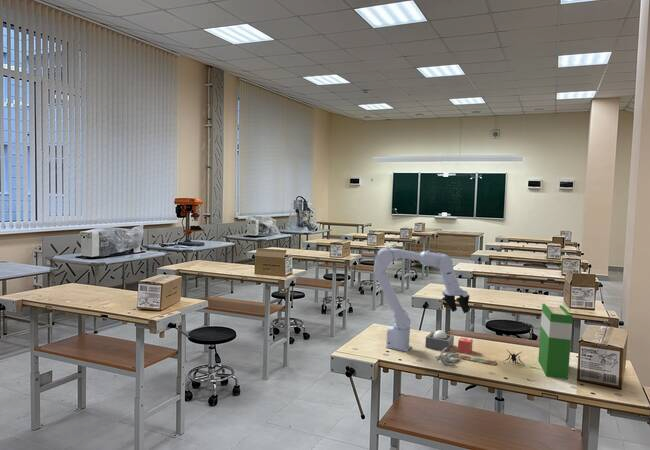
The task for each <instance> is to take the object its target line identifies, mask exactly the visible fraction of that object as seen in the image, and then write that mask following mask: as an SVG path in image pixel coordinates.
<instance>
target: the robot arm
mask: <svg viewBox="0 0 650 450" xmlns="http://www.w3.org/2000/svg"><path fill="white" fill-rule="evenodd" d="M374 259H375V260H374V267H373V274H374V276H375V279H376V280H377V282H378V284H379V286H380V289H381V291H382V293H383V294H384V297H385V299H386V301H387V303H388V305H389V308H390V309H391V311H392V313H393V318H394V324H393V325H389V326H388V327H387V330H386V331H387V332H386V343H385V344H386V345H385V348H386V349H387V348H388V349H392V350H397V351H403V352H407V351H409V350H410V349H411V348H412V346H413V345H410V334H411V327H410V325H411V319H410V317H409V314H408V312H407V311H406V310H405V309H404V308H403V306H402V304H401V303H400V300H399V298H398V296H397V294H396V292H395V290H394V288H393V286H392V284H391V282H390V280H389V278H388V276H387V274H386V271H387V269H388V267H389V265H390V264H391V263H392V262H393V260H394V261H397V260H399V259H406V260H412V261H418V262H419V264H421V265H423V266H429V267H435V268H436V267H439V270H440V274H441V278H442V281H443V284H444V287H445V289H444V290H442V291H441V295H442V296H444V297H442V301H444V302H445V303H446V304H447V305H448V307H449V308H450V310H451V312H453V313H454V312H457V310H458V307H457V304H456V301H457V303H458V304H459V306H460V307H461V310H462V312H463V314H467V313H469V300H470V295H469V293H468V291H467V290H463V288H462V287H460V283H459V281H458V278H457V274H456V271H455V269H454V265H453V264H454V263H453V262H454V261H453V259H452V258H451V257H450V256H449V255H447V254H445V253H441V252H431V251H430V250H428V249H426V251H425V250H423V251H421V252H415V251H410V250H406V249H405V250H404V249H400V248H392V247H389V248H388V247H381V248H380V249H379V250H378V252H377V254H375V258H374ZM456 297H457V298H456Z"/></svg>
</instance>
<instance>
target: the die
mask: <svg viewBox="0 0 650 450" xmlns="http://www.w3.org/2000/svg"><path fill="white" fill-rule="evenodd" d="M473 341H474V340H473V339H471V338H467V337H466V338H465V337H460V338H459V339H458V342H457V343H458V344H457V352H458V353H464V354H468V355H469V354H471V353H472V351H473Z"/></svg>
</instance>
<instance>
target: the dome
mask: <svg viewBox="0 0 650 450" xmlns="http://www.w3.org/2000/svg"><path fill="white" fill-rule="evenodd" d="M434 332H435V333H434V335H432V338H438V339H443V340H447V339H448V337H447V335H446V334H447V333H446V332H445V331H444V330H442V329H441V330H440V329H438V330H436V331H434Z"/></svg>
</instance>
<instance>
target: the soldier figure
mask: <svg viewBox="0 0 650 450" xmlns="http://www.w3.org/2000/svg"><path fill="white" fill-rule="evenodd" d="M447 348H448V347H446V348H445V349H443V350H441V351H440V353H439V356H438V355H437V356H435V359H436V361H437V362H439V361H441V363H443V364H444V365H445V366H456V364H457V363H456V362H457V361H458V362H459V361H461V360H462V359H461V358H454V357H451V356H453V355H454V356H455V355H458V354H459V352H458V351H457V352H455V353H454V352H450V353H451V354H449V355H448V356H446V355H445V354H444V353H445V352H446V351H445V350H447ZM453 362H455V363H453Z"/></svg>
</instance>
